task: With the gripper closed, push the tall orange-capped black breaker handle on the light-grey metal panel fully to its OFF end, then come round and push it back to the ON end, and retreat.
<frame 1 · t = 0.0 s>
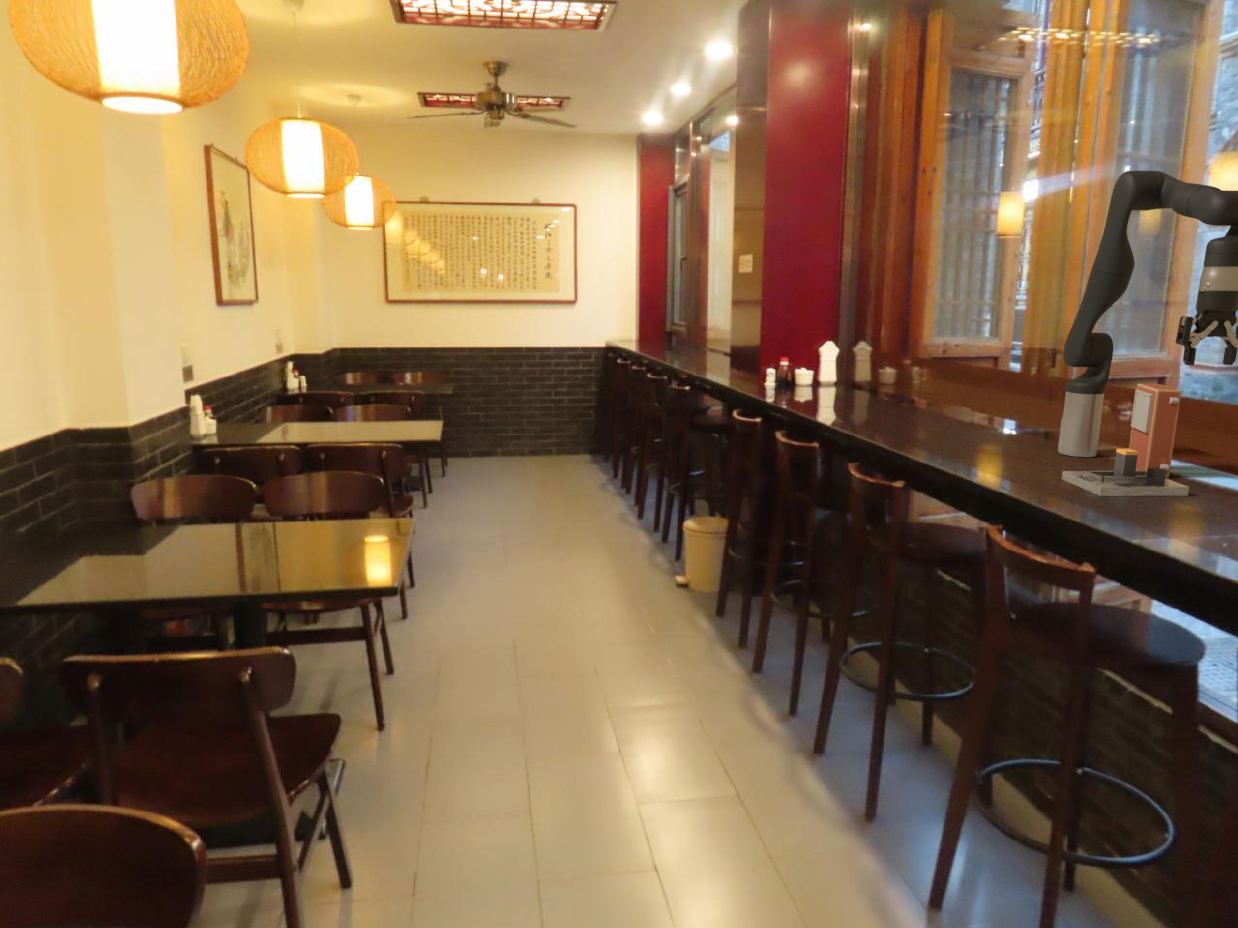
hand: (1208, 365, 183), 29 cm above the bar counter, fingers open, 8 cm apart
control panel: (1146, 472, 213), on the bar counter
tripped breaker: (1125, 463, 196), point 6 cm above the bar counter, slide at 0.0 cm
breaker board: (1122, 487, 197), on the bar counter
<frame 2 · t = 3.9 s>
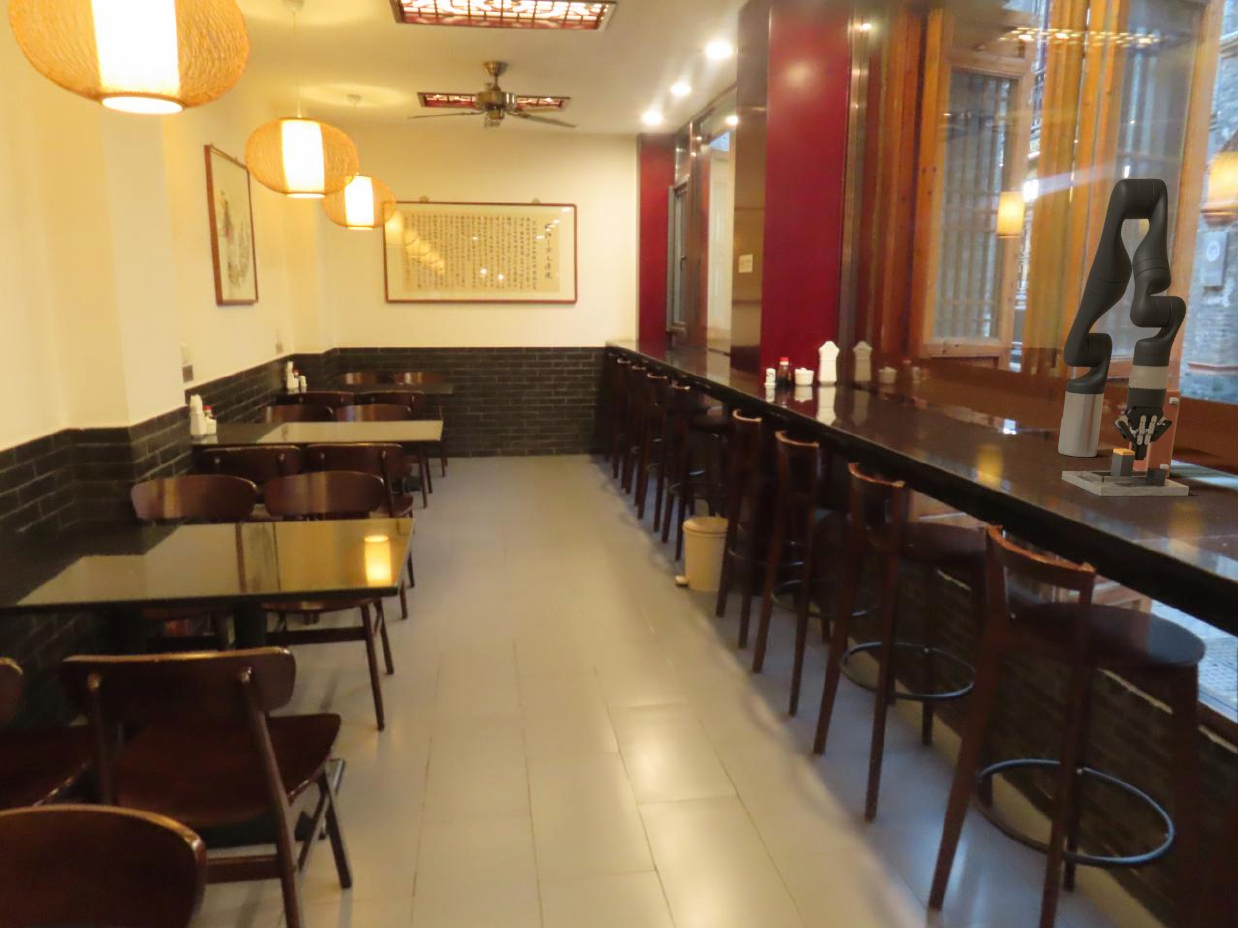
hand: (1137, 459, 196), 7 cm above the bar counter, fingers closed
tripped breaker: (1122, 463, 196), point 6 cm above the bar counter, slide at -0.7 cm, touching gripper
everything else where it was.
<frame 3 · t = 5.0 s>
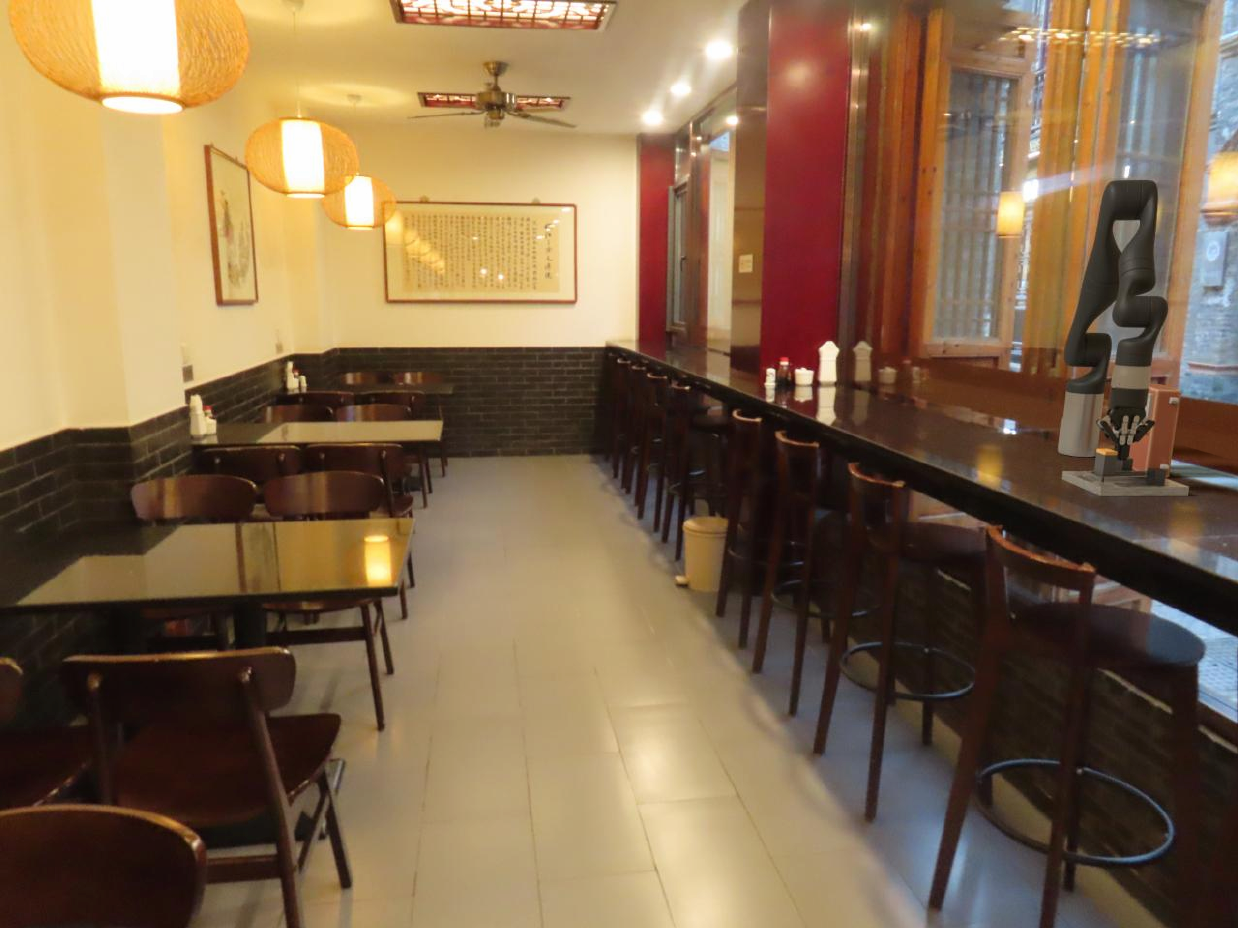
hand: (1120, 459, 196), 7 cm above the bar counter, fingers closed
tripped breaker: (1105, 463, 196), point 6 cm above the bar counter, slide at -4.8 cm, touching gripper
everything else where it was.
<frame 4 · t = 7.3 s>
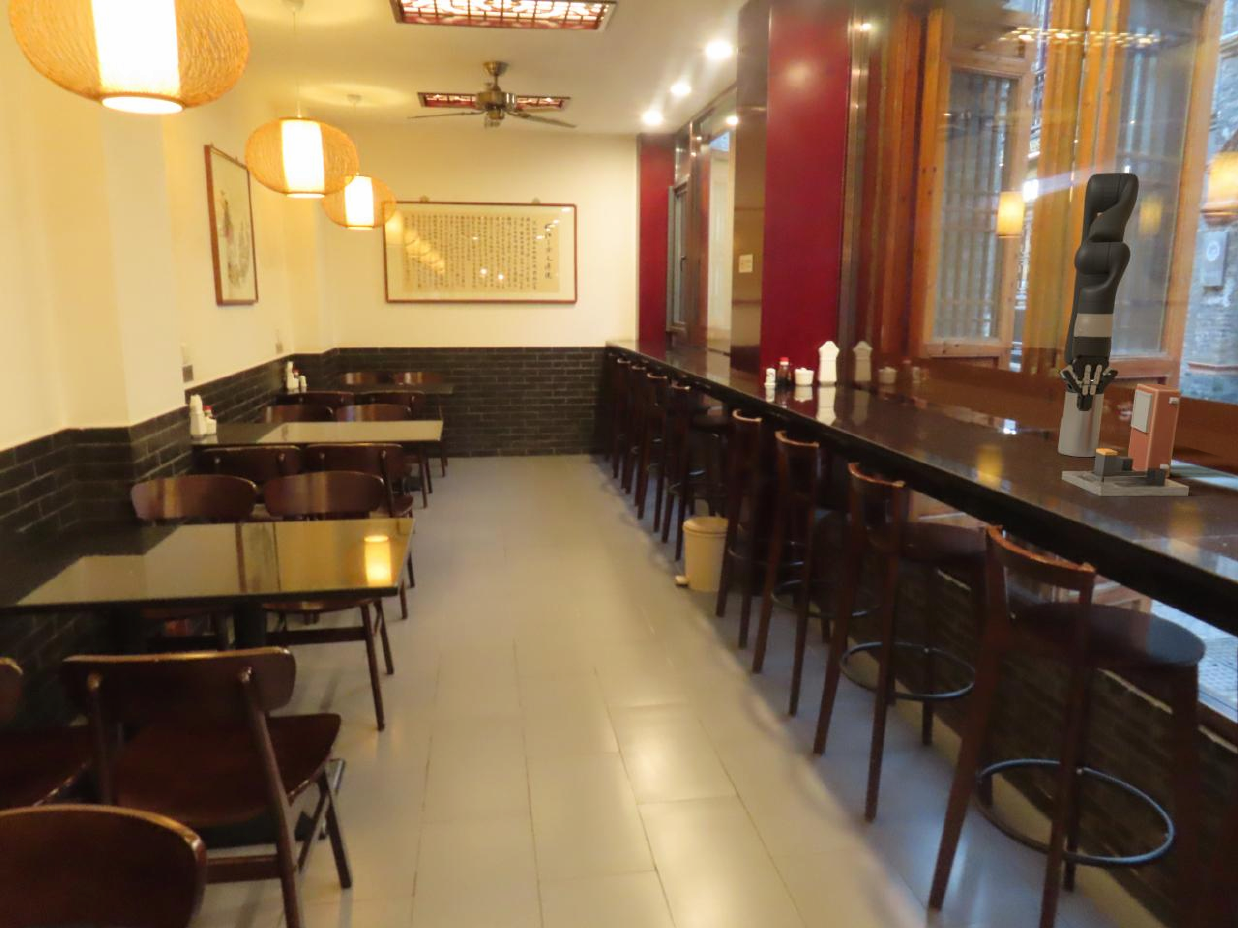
hand: (1083, 410, 193), 18 cm above the bar counter, fingers closed
tripped breaker: (1105, 463, 196), point 6 cm above the bar counter, slide at -4.8 cm
everything else where it was.
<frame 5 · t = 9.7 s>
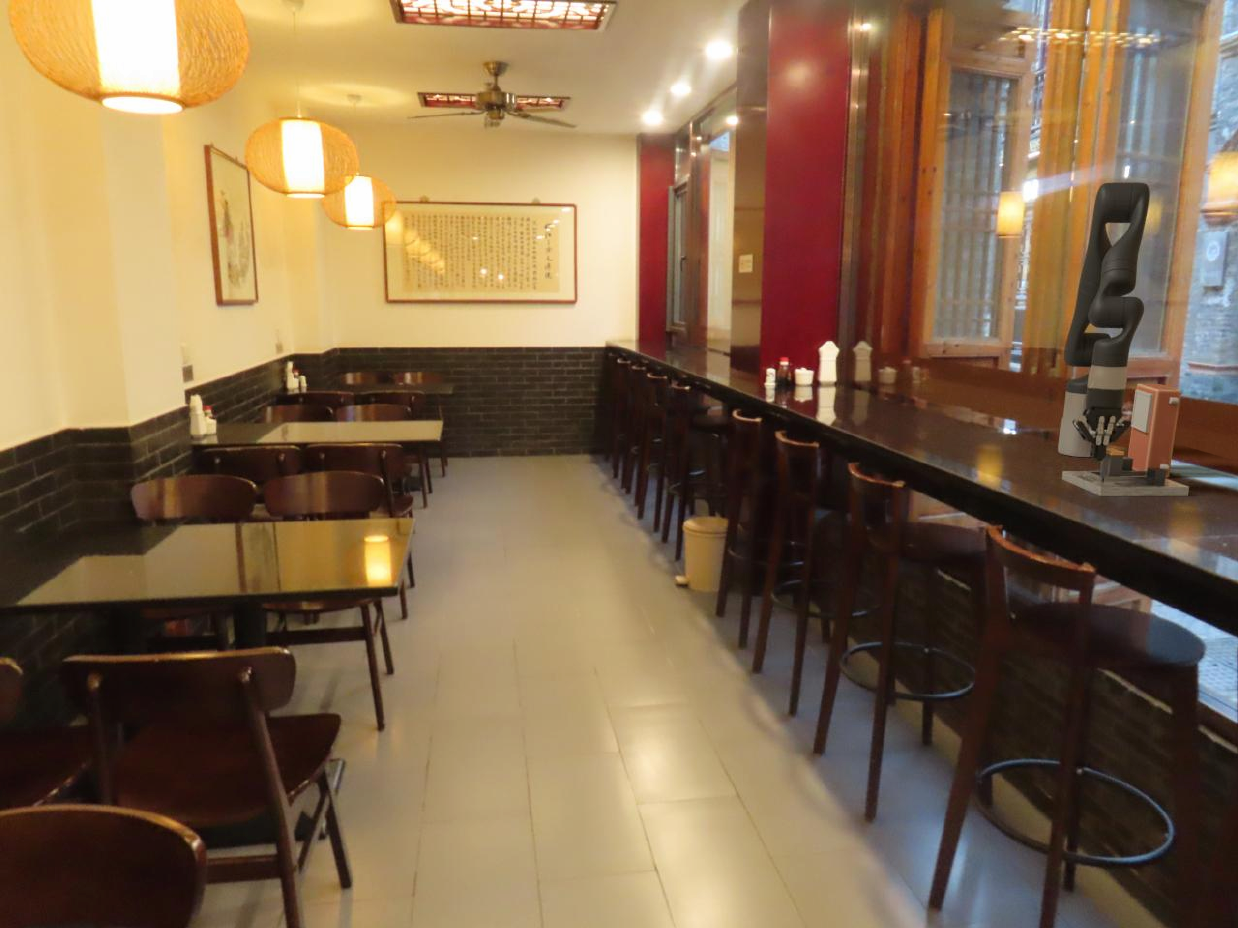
hand: (1096, 460, 196), 6 cm above the bar counter, fingers closed
tripped breaker: (1111, 463, 196), point 6 cm above the bar counter, slide at -3.3 cm, touching gripper
everything else where it was.
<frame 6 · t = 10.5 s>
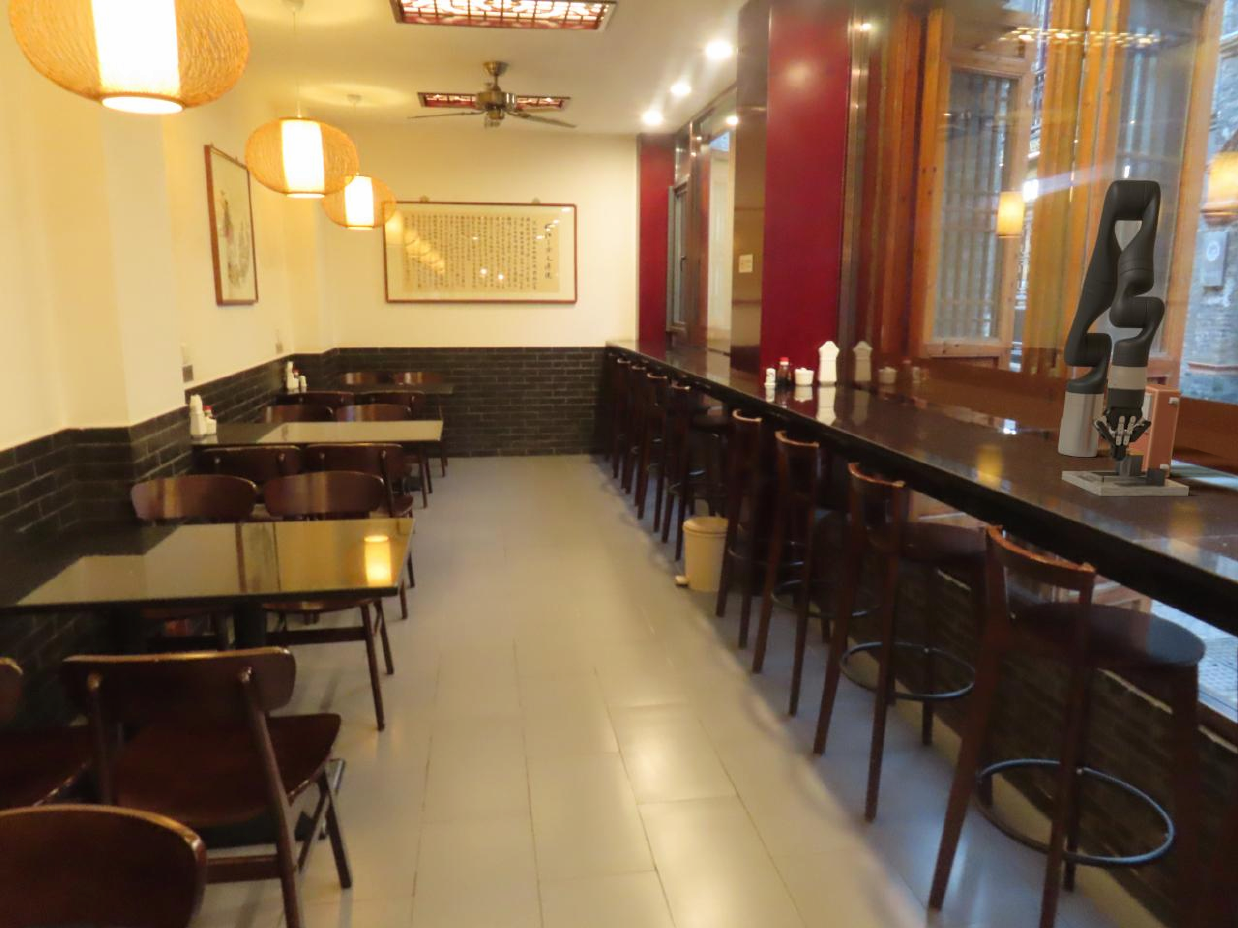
hand: (1116, 460, 196), 6 cm above the bar counter, fingers closed
tripped breaker: (1131, 463, 196), point 6 cm above the bar counter, slide at 1.4 cm, touching gripper
everything else where it was.
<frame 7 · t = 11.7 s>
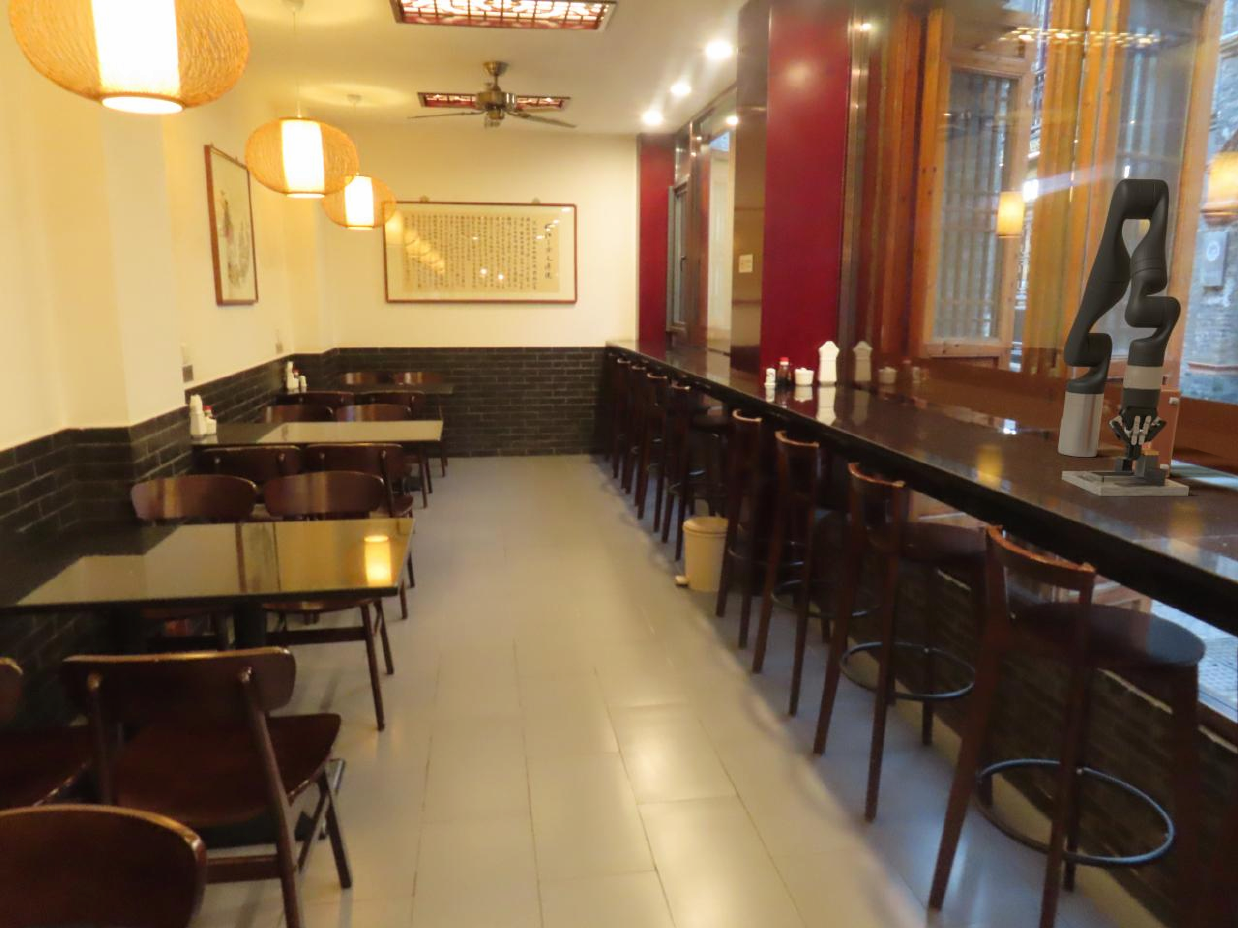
hand: (1131, 459, 196), 6 cm above the bar counter, fingers closed
tripped breaker: (1146, 463, 196), point 6 cm above the bar counter, slide at 4.9 cm, touching gripper
everything else where it was.
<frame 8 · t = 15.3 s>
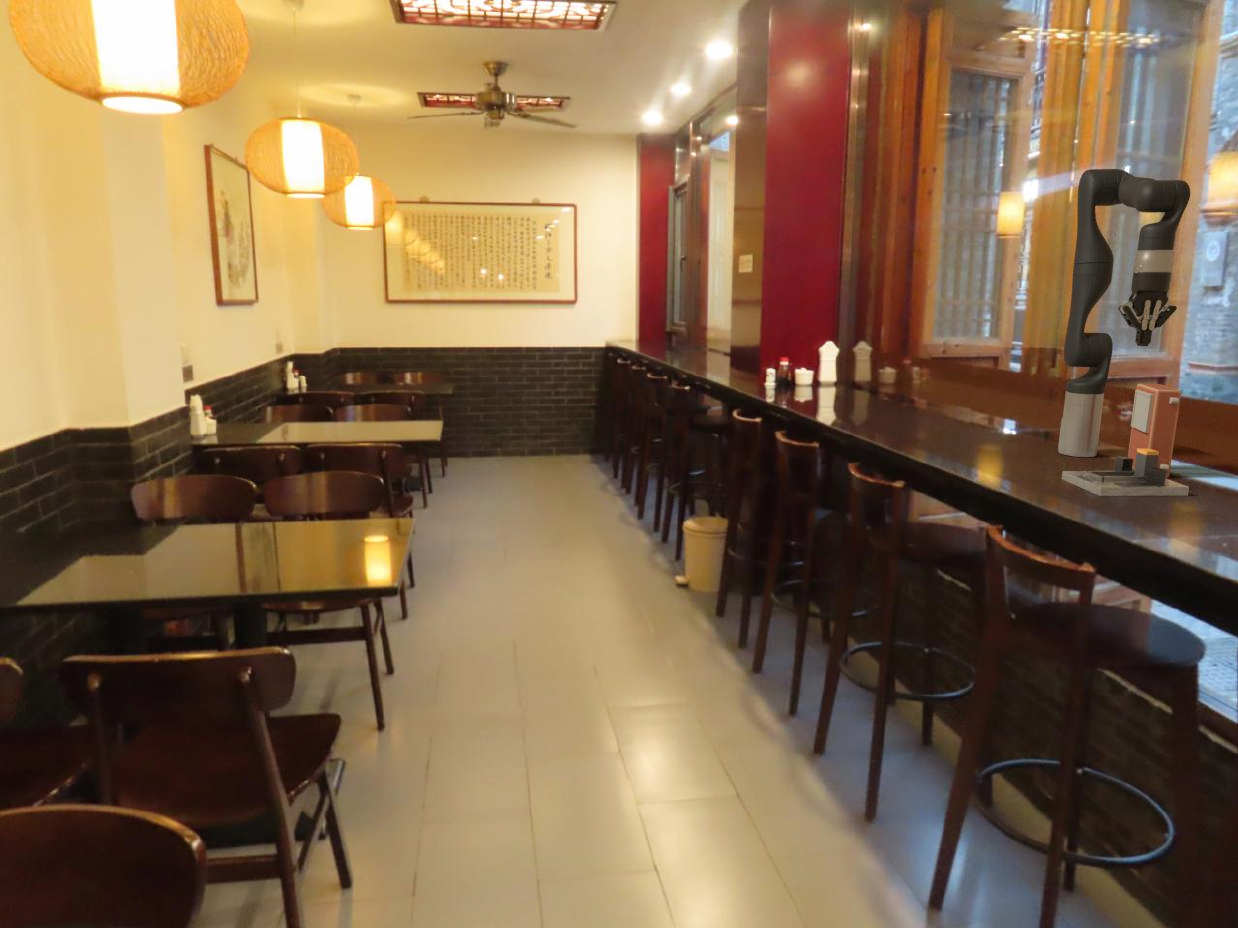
hand: (1142, 346, 199), 32 cm above the bar counter, fingers closed
tripped breaker: (1146, 463, 196), point 6 cm above the bar counter, slide at 4.9 cm
everything else where it was.
at the end: tripped breaker slide at 4.9 cm; tripped breaker touching nothing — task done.
